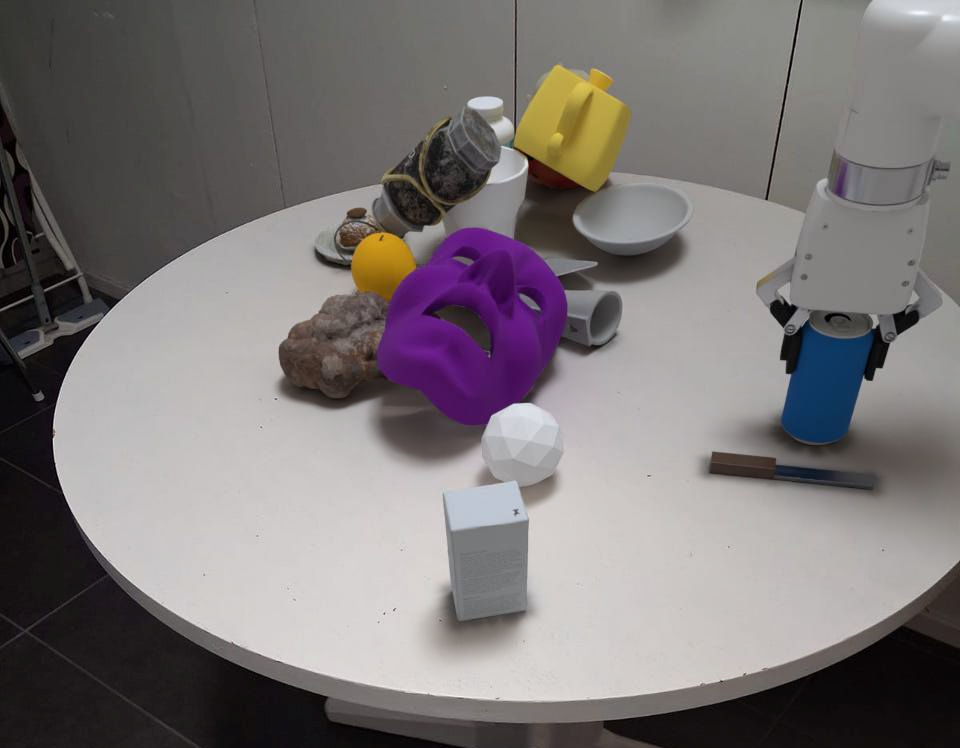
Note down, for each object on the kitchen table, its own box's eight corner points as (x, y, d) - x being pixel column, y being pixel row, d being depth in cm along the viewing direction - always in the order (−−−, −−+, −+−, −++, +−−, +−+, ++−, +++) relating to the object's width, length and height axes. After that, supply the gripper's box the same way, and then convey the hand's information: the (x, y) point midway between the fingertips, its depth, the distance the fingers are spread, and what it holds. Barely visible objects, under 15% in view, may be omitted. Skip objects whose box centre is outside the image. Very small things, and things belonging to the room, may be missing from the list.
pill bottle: (498, 223, 129) (494, 116, 119) (452, 213, 132) (445, 108, 122) (525, 201, 133) (523, 96, 123) (480, 192, 136) (475, 89, 126)
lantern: (458, 85, 105) (323, 217, 121) (449, 126, 101) (310, 257, 117) (511, 143, 110) (374, 263, 126) (504, 184, 106) (364, 302, 122)
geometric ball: (578, 405, 85) (562, 492, 86) (560, 416, 93) (545, 497, 94) (497, 387, 84) (480, 476, 85) (485, 400, 92) (470, 482, 93)
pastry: (401, 266, 122) (397, 230, 119) (309, 269, 123) (303, 234, 119) (408, 224, 130) (404, 190, 127) (322, 228, 131) (316, 194, 127)
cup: (444, 229, 129) (437, 143, 120) (535, 231, 127) (534, 144, 119) (426, 274, 120) (417, 185, 112) (523, 276, 119) (521, 186, 110)
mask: (476, 473, 96) (576, 324, 107) (525, 382, 82) (633, 224, 94) (335, 382, 95) (451, 242, 106) (361, 276, 82) (490, 129, 93)
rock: (429, 363, 113) (422, 275, 108) (458, 388, 104) (452, 292, 98) (277, 383, 109) (263, 292, 104) (293, 411, 99) (278, 313, 94)
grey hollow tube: (503, 292, 119) (625, 326, 109) (469, 318, 117) (590, 356, 106) (494, 249, 115) (620, 280, 104) (458, 275, 113) (583, 310, 102)
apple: (355, 282, 120) (345, 223, 114) (417, 276, 120) (410, 217, 115) (356, 314, 115) (346, 254, 109) (420, 308, 115) (414, 247, 109)
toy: (521, 85, 138) (518, 197, 142) (502, 52, 124) (499, 177, 128) (625, 81, 135) (618, 196, 139) (617, 47, 121) (610, 175, 125)
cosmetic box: (516, 572, 82) (519, 478, 72) (527, 612, 80) (531, 520, 70) (448, 583, 82) (441, 489, 72) (456, 623, 80) (450, 532, 70)
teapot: (529, 151, 130) (571, 62, 125) (607, 196, 130) (652, 109, 125) (499, 138, 113) (547, 33, 107) (589, 191, 113) (641, 88, 107)
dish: (656, 292, 114) (659, 252, 111) (549, 269, 120) (549, 230, 116) (708, 231, 124) (713, 192, 121) (608, 212, 129) (609, 174, 126)
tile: (603, 261, 114) (603, 265, 114) (550, 257, 122) (550, 261, 122) (464, 297, 105) (465, 301, 106) (417, 290, 114) (418, 294, 114)
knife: (872, 477, 89) (875, 467, 88) (872, 489, 88) (876, 479, 87) (710, 461, 92) (712, 451, 91) (709, 472, 91) (710, 462, 90)
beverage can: (835, 409, 97) (864, 299, 88) (855, 447, 92) (888, 336, 84) (772, 413, 97) (795, 304, 88) (789, 452, 92) (815, 341, 84)
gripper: (988, 160, 77) (922, 356, 90) (768, 151, 80) (737, 341, 94) (998, 199, 72) (928, 400, 85) (765, 188, 75) (732, 383, 89)
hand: (828, 368), depth 89 cm, fingers closed on beverage can, 6 cm apart
